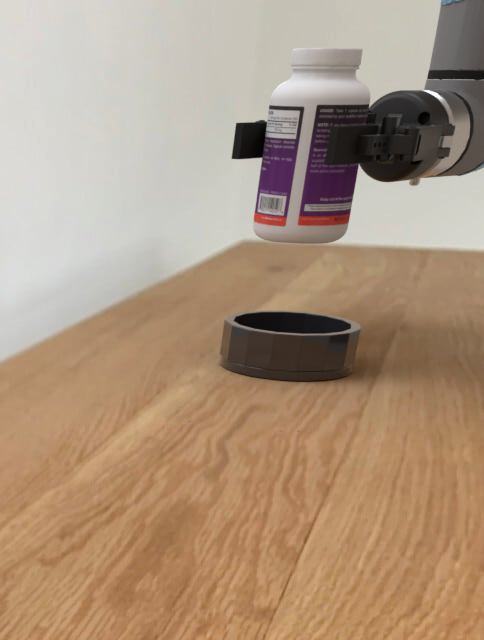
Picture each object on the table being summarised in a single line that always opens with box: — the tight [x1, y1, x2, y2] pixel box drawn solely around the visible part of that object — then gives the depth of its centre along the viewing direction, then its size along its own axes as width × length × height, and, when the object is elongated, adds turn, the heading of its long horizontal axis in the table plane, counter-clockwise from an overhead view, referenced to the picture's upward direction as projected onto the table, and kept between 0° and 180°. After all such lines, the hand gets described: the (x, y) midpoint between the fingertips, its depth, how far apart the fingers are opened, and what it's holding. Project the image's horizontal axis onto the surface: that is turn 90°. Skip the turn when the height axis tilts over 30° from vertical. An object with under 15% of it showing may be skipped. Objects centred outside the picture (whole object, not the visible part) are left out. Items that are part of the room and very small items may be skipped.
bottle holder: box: [219, 309, 361, 382], centre depth 100 cm, size 12×12×4 cm
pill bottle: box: [252, 47, 371, 245], centre depth 94 cm, size 8×8×14 cm
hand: (283, 143), depth 91 cm, fingers closed on pill bottle, 8 cm apart
